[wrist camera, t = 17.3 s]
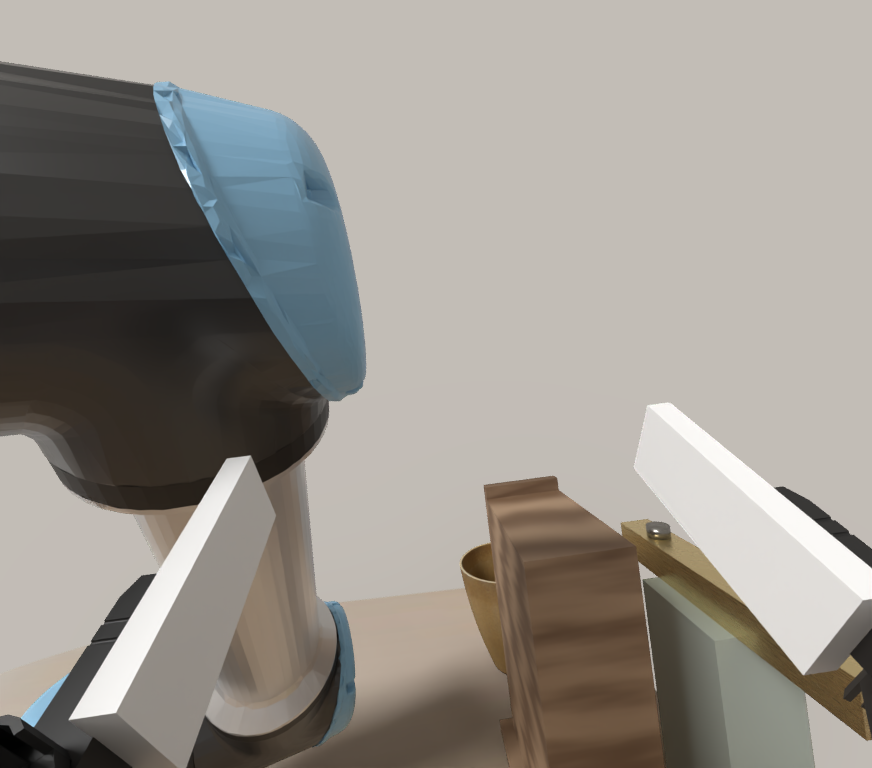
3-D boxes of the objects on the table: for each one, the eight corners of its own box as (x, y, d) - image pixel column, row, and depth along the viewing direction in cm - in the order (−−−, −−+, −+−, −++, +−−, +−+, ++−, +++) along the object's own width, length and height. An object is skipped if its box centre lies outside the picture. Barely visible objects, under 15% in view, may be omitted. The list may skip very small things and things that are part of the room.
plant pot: (567, 705, 50) (552, 586, 51) (461, 688, 55) (447, 580, 55) (567, 633, 64) (555, 539, 65) (482, 624, 69) (471, 538, 69)
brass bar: (923, 731, 22) (912, 650, 22) (866, 740, 22) (855, 658, 22) (650, 546, 48) (646, 509, 48) (624, 550, 48) (619, 513, 48)
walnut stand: (714, 948, 28) (660, 529, 29) (558, 977, 28) (505, 550, 28) (593, 717, 48) (562, 472, 49) (501, 731, 48) (470, 484, 48)
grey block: (831, 886, 31) (796, 628, 31) (748, 901, 30) (714, 640, 31) (730, 764, 41) (704, 570, 41) (667, 774, 40) (642, 579, 41)
